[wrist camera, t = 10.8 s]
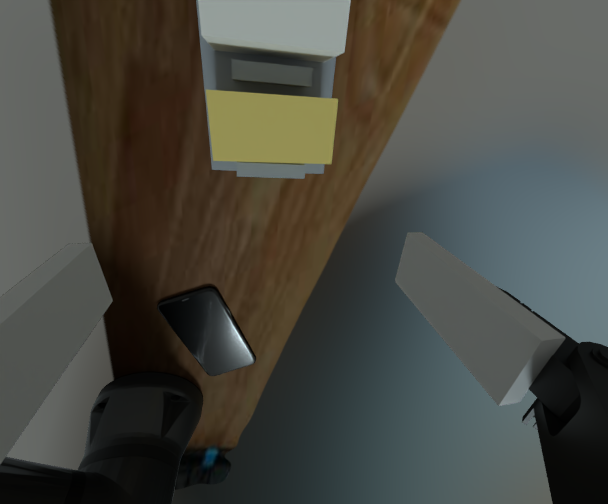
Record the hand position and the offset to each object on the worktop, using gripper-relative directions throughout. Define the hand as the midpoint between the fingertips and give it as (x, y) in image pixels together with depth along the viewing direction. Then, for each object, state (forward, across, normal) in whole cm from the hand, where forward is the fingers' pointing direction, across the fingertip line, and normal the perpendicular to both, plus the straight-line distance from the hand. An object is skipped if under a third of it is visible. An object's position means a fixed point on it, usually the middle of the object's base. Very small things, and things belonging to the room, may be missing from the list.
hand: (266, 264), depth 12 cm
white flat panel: (+17, +2, +12) cm, 21 cm away
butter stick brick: (+17, +1, +5) cm, 18 cm away
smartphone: (+19, -7, -22) cm, 30 cm away
